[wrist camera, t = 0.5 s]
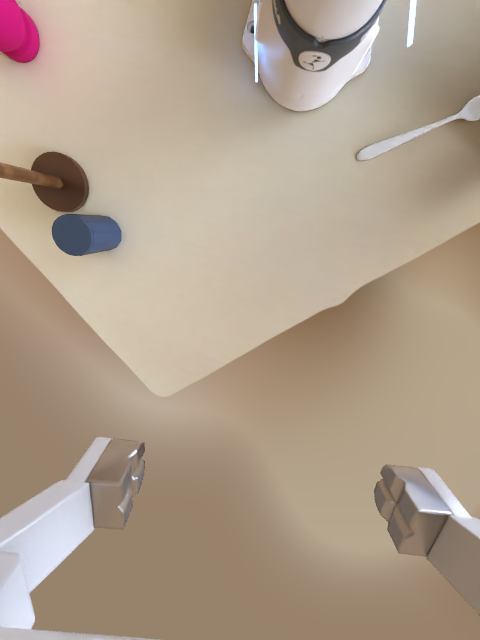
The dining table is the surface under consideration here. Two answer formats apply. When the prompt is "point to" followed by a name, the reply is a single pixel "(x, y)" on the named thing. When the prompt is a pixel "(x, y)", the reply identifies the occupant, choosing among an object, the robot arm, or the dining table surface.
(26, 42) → the pepper mill
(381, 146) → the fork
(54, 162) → the peg stand
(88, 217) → the blue cylinder
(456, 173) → the dining table surface
